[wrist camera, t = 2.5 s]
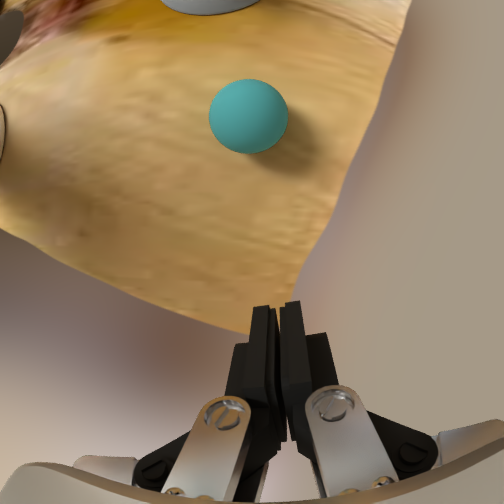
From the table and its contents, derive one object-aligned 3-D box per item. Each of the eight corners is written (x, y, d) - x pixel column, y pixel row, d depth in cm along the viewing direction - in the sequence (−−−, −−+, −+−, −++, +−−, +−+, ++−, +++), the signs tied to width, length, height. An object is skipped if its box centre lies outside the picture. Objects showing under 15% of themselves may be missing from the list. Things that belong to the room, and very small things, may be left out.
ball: (223, 159, 23) (209, 161, 18) (211, 97, 21) (193, 80, 16) (291, 147, 23) (298, 145, 17) (278, 84, 21) (281, 63, 15)
